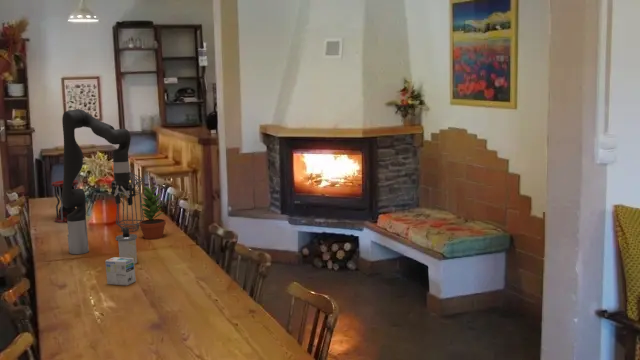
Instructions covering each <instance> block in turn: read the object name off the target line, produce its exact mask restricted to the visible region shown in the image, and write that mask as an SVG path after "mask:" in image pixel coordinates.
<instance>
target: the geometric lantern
mask: <svg viewBox="0 0 640 360" xmlns="http://www.w3.org/2000/svg"><path fill="white" fill-rule="evenodd" d="M130 178H131V180H130V181H131V182H130V181H129V183H130V184H134V185H135V187H136V188H135V194H136V196H137V195H139V209H140V219H138V213H137V204H136V201H137V200H136V196H133V199H134V210H135V219H134V211H133V204H132V205H130V206H131V219H129V214H128V213H129V212H128V211H129V209H128V207H129V205H128V200H126V219H125V217H124V216H125V197H127V195H126V194H125V193H124V192H121V193H120V195H119V196H120V197H121V196H122V201H123V202H122V220H120V204H116V214H115V215H116V216H115V224H116V225H117V226H118V227H120V229H121V232H122V233H123V229H122V228H127V227H128V226H132V232H136V231H137V230H139V229H140V226H139V222H141V221H143V220H144V219H145V218H144V216H143V215H144V211H143V210H142V209H141V208H143V205H141V204H143V202H142V201H143V200H142V193H141V191H142V190H141V189H142V186H143V185H142V184H143V183H144V182H145V181H146V179H145V178H143V177H141V176H140V175H137V174H135V173H134V172H132V171H130ZM112 182H115V181H114V180H112V181H111V183H112ZM132 194H133V191H132ZM125 221H126V222H128V221H129V222H130V221H131V223H132V224H131V223H125ZM134 221H135V222H136V223H134ZM122 222H123V223H122Z"/></svg>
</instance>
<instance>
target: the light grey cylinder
mask: <svg viewBox="0 0 640 360" xmlns="http://www.w3.org/2000/svg"><path fill="white" fill-rule="evenodd" d="M117 242H118V243H117V244H118V253H119V255H118V256H119V257H118V258H134V265H135V264H137V263H138V259H137V258H138V253H137V240H136V239H135V240H131V241H117Z"/></svg>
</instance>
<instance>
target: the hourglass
mask: <svg viewBox="0 0 640 360" xmlns="http://www.w3.org/2000/svg"><path fill="white" fill-rule="evenodd" d="M78 184H79V180H78V179H77V180H76V179H75V180H74V182H73V185H72V189H76V188H77V189H78V186H77V185H78ZM51 186H52V187H53V190H54V197H55V198H56V200H57V203H56V205H55V211H56V214H55V215H56V218H54V222H55V223H59V224H65V223H66V224H67V215H68V214H70V213H72V212H73V211H74V210H75V209H76V207H72V208H65V207H64V206H63V203H62V189H63V179H62V180H56V181H53V182H51ZM59 205H60V207H59Z"/></svg>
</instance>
